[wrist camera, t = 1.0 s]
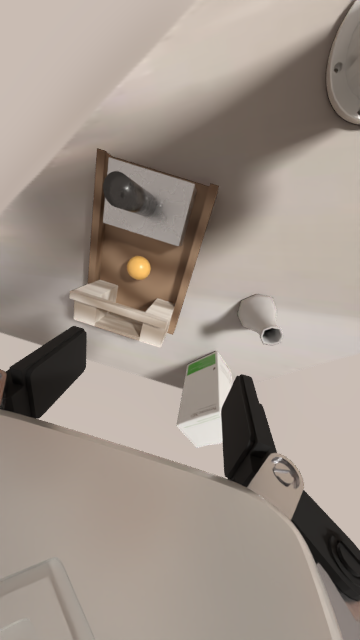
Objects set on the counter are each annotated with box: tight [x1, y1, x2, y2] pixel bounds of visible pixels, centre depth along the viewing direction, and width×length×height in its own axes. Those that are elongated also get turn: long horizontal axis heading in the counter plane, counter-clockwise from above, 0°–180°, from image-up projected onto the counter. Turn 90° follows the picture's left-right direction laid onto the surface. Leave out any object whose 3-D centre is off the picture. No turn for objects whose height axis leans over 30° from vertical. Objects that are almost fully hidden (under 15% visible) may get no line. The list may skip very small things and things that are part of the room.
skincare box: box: [176, 351, 233, 448], centre depth 36 cm, size 8×7×16 cm
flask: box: [237, 294, 284, 346], centre depth 32 cm, size 7×7×10 cm
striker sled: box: [103, 157, 197, 246], centre depth 24 cm, size 8×12×13 cm, turn 74°
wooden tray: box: [70, 148, 219, 347], centre depth 30 cm, size 25×18×10 cm
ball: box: [127, 256, 151, 280], centre depth 33 cm, size 4×4×4 cm
